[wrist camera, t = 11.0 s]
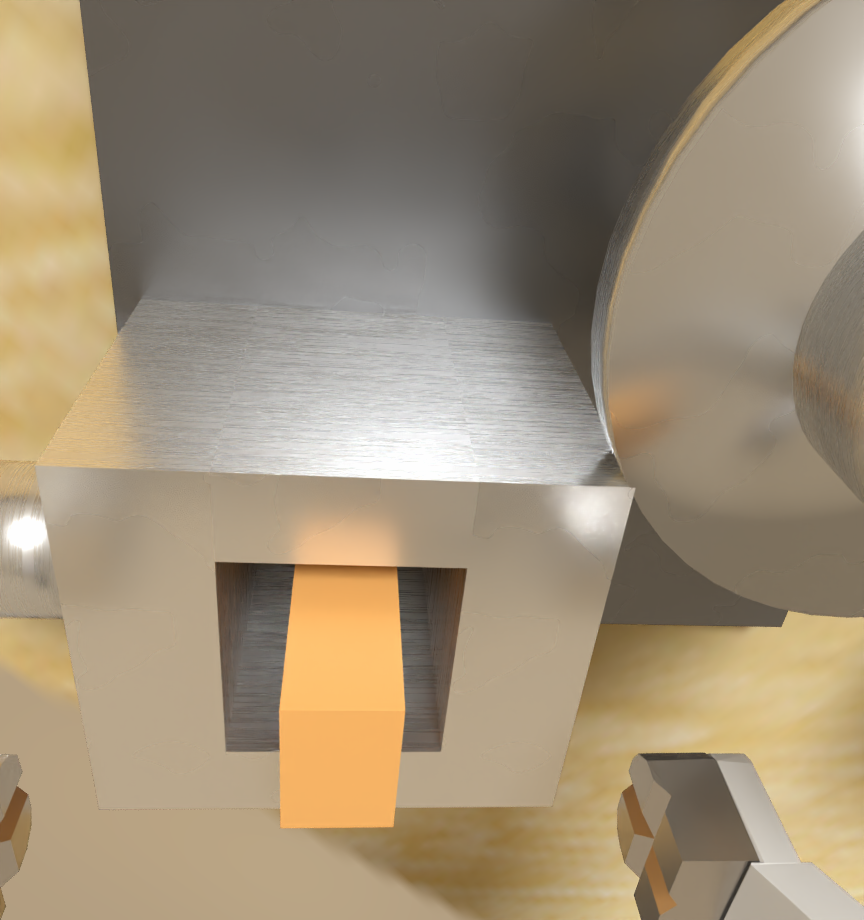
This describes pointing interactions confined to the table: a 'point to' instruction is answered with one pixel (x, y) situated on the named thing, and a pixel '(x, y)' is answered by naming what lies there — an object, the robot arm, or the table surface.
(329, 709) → the orange rectangular bar
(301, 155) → the grey piece
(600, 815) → the table surface
